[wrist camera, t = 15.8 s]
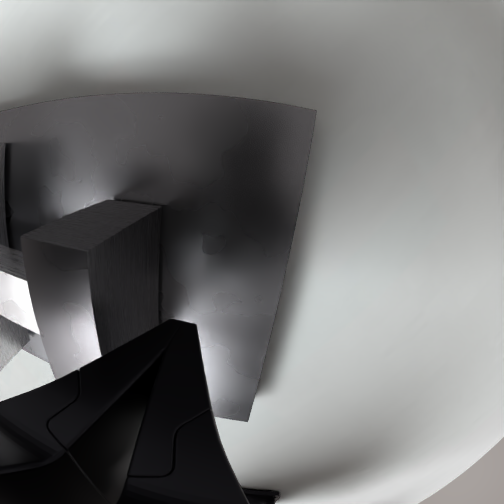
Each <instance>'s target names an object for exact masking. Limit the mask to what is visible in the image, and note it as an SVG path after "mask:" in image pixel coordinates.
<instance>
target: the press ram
mask: <svg viewBox="0 0 504 504" xmlns="http://www.w3.org/2000/svg"><path fill="white" fill-rule="evenodd" d="M4 161H5V143H1V144H0V371H1V370H2V369H3V368H4V367H5V366H6V365H7V364H8V363H9V362H10V360H11V359H12V358H13V357H14V356H15V355H16V354H17V353H18V352H19V351H20V350H21V349H22V348H23V347H24V346H25V345H26V344H27V343H28V342H29V341H30V337H29V334H28V331H27V329H29V330H31V331H33V332H35V333H37V334H39V335H40V336H41V339H42V343H43V346H44V349H45V352H46V355H47V358H48V360H49V363H50V366H51V369H52V371H53V374H54V376H55V379H56V380H57V379H59V378H61V377H63V376H65V375H67V374H69V373H71V372H73V371H75V370H76V369H77V370H79V368H80V367H82V366H84V365H86V364H88V363H90V362H92V361H94V360H95V359H97V358H99V357H101V356H103V355H105V354H107V353H108V352H110V351H112V350H114V349H116V348H118V347H119V346H121V345H123V344H125V343H127V342H129V341H131V340H132V339H134V338H136V337H138V336H140V335H141V334H143V333H145V332H147V331H149V330H151V329H152V328H154V327H156V326H158V325H159V313H158V283H159V247H160V227H161V212H162V207H161V206H154V205H146V204H139V203H131V202H123V201H115V200H104V201H102V202H99V203H96V204H94V205H91V206H89V207H86V208H83V209H81V210H78V211H76V212H74V213H71V214H69V215H66V216H64V217H62V218H59V219H57V220H55V221H52V222H50V223H48V224H45V225H43V226H41V227H39V228H37V229H34V230H32V231H30V232H28V233H26V234H24V235H22V236H20V238H21V247H22V251H18V250H15V249H12V248H9V244H8V236H7V226H6V215H5V196H4Z"/></svg>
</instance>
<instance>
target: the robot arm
mask: <svg viewBox="0 0 504 504" xmlns="http://www.w3.org/2000/svg"><path fill="white" fill-rule="evenodd" d="M279 498H280V493H279V492H268V491H255V490H245V489H242V488H241V486H240V484H239V482H238V480H237V478H236V476H235V473H234V471H233V469H232V467H231V465H230V463H229V461H228V458H227V456H226V453H225V451H224V448H223V445H222V443H221V440H220V436H219V433H218V429H217V426H216V422H215V418H214V413H213V411H212V404H211V400H210V395H209V390H208V385H207V380H206V375H205V369H204V364H203V358H202V353H201V347H200V341H199V335H198V329H197V325H196V324H195V323H190V322H186V321H181V320H177V319H169V320H167V321H165V322H163V323H161V324H160V325H158V326H156V327H154V328H152V329H151V330H149V331H147V332H145V333H143V334H141V335H140V336H138V337H136V338H134V339H132V340H131V341H129V342H127V343H125V344H123V345H121V346H119V347H118V348H116V349H114V350H112V351H110V352H108V353H107V354H105V355H103V356H101V357H99V358H97V359H95V360H94V361H92V362H90V363H88V364H86V365H84V366H82V367H80V368H79V370H77V369H76V370H75V371H73V372H71V373H69V374H67V375H65V376H63V377H61V378H59V379H57V380H55V381H53V382H51V383H48V384H46V385H43V386H41V387H39V388H36V389H34V390H31V391H29V392H26V393H23V394H20V395H18V396H15V397H12V398H9V399H7V400H4V401H1V402H0V504H275V502H276V501H277V500H278V499H279Z"/></svg>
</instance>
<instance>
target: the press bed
mask: <svg viewBox="0 0 504 504" xmlns="http://www.w3.org/2000/svg"><path fill="white" fill-rule="evenodd" d="M315 117H316V110H311V109H306V108H302V107H296V106H291V105H286V104H280V103H274V102H268V101H261V100H254V99H246V98H238V97H229V96H218V95H205V94H188V93H122V94H106V95H94V96H84V97H75V98H67V99H60V100H54V101H48V102H42V103H37V104H32V105H27V106H22V107H18V108H13V109H9V110H5V111H1V112H0V144H1V143H5V161H4V196H5V215H6V226H7V236H8V244H9V248H12V249H15V250H18V251H22V247H21V238H20V236H22V235H24V234H26V233H28V232H30V231H32V230H34V229H37V228H39V227H41V226H43V225H45V224H48V223H50V222H52V221H55V220H57V219H59V218H62V217H64V216H66V215H69V214H71V213H74V212H76V211H78V210H81V209H83V208H86V207H89V206H91V205H94V204H96V203H99V202H102V201H104V200H115V201H123V202H131V203H139V204H146V205H154V206H161V207H162V212H161V227H160V247H159V283H158V313H159V325H160V324H161V323H163V322H165V321H167V320H169V319H177V320H181V321H186V322H190V323H195V324H196V325H197V329H198V335H199V341H200V347H201V353H202V358H203V364H204V369H205V375H206V380H207V385H208V390H209V395H210V400H211V404H212V411H213V413H214V417H220V418H226V419H232V420H238V421H245V422H248V420H249V416H250V412H251V409H252V405H253V402H254V398H255V394H256V390H257V387H258V383H259V379H260V375H261V371H262V368H263V364H264V360H265V356H266V352H267V348H268V344H269V340H270V336H271V332H272V328H273V323H274V319H275V315H276V311H277V307H278V302H279V298H280V294H281V289H282V285H283V281H284V276H285V272H286V267H287V263H288V258H289V253H290V249H291V244H292V239H293V234H294V230H295V225H296V220H297V215H298V210H299V205H300V200H301V195H302V189H303V184H304V179H305V174H306V168H307V163H308V157H309V152H310V146H311V140H312V134H313V129H314V123H315ZM27 331H28V334H29V337H30V341H29V342H28V343H27V344H26V345H25V346H24V347H23V348H22V349H23V350H25V351H27V352H29V353H31V354H33V355H34V356H36V357H38V358H40V359H42V360H44V361H46V362H48V363H49V360H48V358H47V355H46V352H45V349H44V346H43V343H42V339H41V336H40V335H39V334H37V333H35V332H33V331H31V330H29V329H27Z"/></svg>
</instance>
